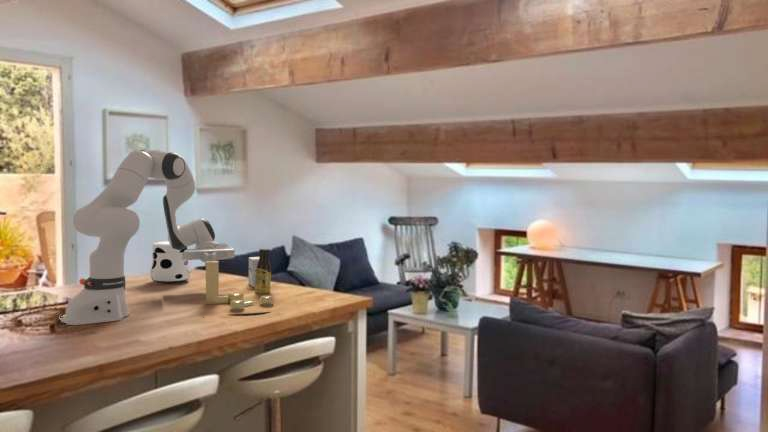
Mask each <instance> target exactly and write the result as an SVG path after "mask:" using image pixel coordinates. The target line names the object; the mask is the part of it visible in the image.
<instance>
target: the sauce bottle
mask: <svg viewBox="0 0 768 432" xmlns="http://www.w3.org/2000/svg"><path fill="white" fill-rule="evenodd" d="M258 251H259V252H258V253H259V257H260V258H259V261H258V264H257V267H256V279H255V287H254V292H255V294H258V295H259V294H260V295H261V294H262V295H265V294H270V293H271V282H272V281H271V279H272V265H271V262H270V259H269V258H270V257H269V254H270V248H265V247H262V248H259V249H258Z"/></svg>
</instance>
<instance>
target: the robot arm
mask: <svg viewBox="0 0 768 432" xmlns="http://www.w3.org/2000/svg"><path fill="white" fill-rule="evenodd" d="M149 179H154V180H164V183H165V186H166V193H165V195H164V196H163V197H162V205H163V212H164V217H165V222H166V223H165V224H166V229H167V240H168V241H169V243H170V245H171V247H172V248H174V249H177V250H182V249H185V248H187V247H188V249H186V250H184V252H183V253H182V254H183V255H184V260H188V261H196V260H197V261H198V260H200V261H201V262H203V263H206V262H212V261H222V260H229V259H234V258H235V256H236V254H235V248H233V246H231V245H229V243H225V242H224V243H223V242H216V241H215V239H216V238H215V237H216V234H215V231H214V229H213V227H212V224H211V222H210V221H208V220H207V219H206V218H203V217H200V218H197V219H193V220H191V221H188V222H186V223H183V224H181V225H178V223H177V217H176V212H177V210H178V209H179V208H180V207H181V206H183V204H185V203H187V201H189V200H190V199H191V198H192V196H194V193H195V192H196V183H195V179H194V176H193V173H192V170H191V168H190V166H189V164H188V163H187V162H186V159H185V157H183V156H181V154H179V153H176V152H171V151H170V152H169V151H165V150H164V151H163V150H157V149H148V150H147V149H139V150H132V151H130V152H129V153H128V154H127V156H126V157H125V158H124V159H123V160H122V161H121V163H120V164H119V166H118V167H117V169H116V171H115V173H114V174H113V176H112V177H111V179H110V181H109V182H108V184H107V185H106V187H105V188H104V190H102V191H101V192H100V193H99V194H98V196H96V197H95V198H94V199H93V200H92V201H90V202H89V203H88V204H87V205H84V206H82V207H80V208H78V209H77V210H76V211H75V213H74V215H73V220H72V224H73V227H74V229H75V230H76V231H77V232H78V233H80V234H82V235H84V236H85V235H86V236H87V237H95V238H99V241H98V245H97V248H96V249H95V250H93V251H92V252H91V253H90V255H89V277H87V278H86V279H85V278H82V277H81V278H80V279H79V280H78V282H79V284H80V285H83V286H84V288H83V289H82V290H81V291H80V292H79V293H77V294H76V295H75V296H73V297H72V298H71V299H69V301H68V302H67V304H66V309H65V314H62V315H63V316H61V315H60V316H61V317H63V318H60V316H59V317H58V320H59V319H60V320H61V321H62V322H64V323H66V324H65V325H68V326H69V325H70V326H80V325H81V326H82V325H88V324H99V323H105V322H106V323H107V322H108V323H109V322H115V321H121V320H123V318H125V317H129V315H130V312H129V309H128V304H127V301H126V293H125V291H126V275H124V272H125V271H124V270H125V253H126V249H127V246H128V244H129V241H130V240H131V239H132V238H133V237H134V236H135V235H136V234H137V232H138V231H139V229H140V224H141V223H140V218H139V215H138V214H137V213H136V211H134V210H132V209H129V208H128V207H130V206H132V205H134V204H135V203H136V202H137V201H138V199H139V197H140V195H142V194H141V193H142V192H143V190H144V188H145V186H146V184H147V183H148V180H149ZM168 241H167V242H168ZM193 245H195V246H194V248H189V247H190V246H193ZM62 322H61V323H62ZM64 323H63V324H64Z"/></svg>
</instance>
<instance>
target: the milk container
mask: <svg viewBox="0 0 768 432" xmlns="http://www.w3.org/2000/svg"><path fill="white" fill-rule="evenodd" d="M186 249H189V246H188V247H187V248H185V249H182V250H177V249H174V248H172V247H171V245H170V243H169V241H158V242H154V243H153V244H152V252H151V253H152V263H151V267H150V277H151V278H150V279H151V280H152V281H153V282H154V283H159V284H178V283H182V282H183V283H184V282H186V281H188V280H189V279H190V275H191V268H190V264H189V260H184V255H183V254H182V253H183V252H184V250H186Z"/></svg>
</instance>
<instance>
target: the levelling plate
mask: <svg viewBox="0 0 768 432" xmlns="http://www.w3.org/2000/svg"><path fill="white" fill-rule="evenodd" d="M229 304H230V305H229V306H230V309H229V310H230V311H231V312H241V311H244V310H245V307H248V306H249V307H250V306H254V301H251V300H250V301H245V300H244V301H242V300H234V301H231V302H230V303H229ZM259 306H261V307H270V306H274V296H272V295H261V296H260V297H259ZM270 313H271V311H267V312H265V311H263V312H249V313H248V312H247V313H246V312H245V313H233V314H228V316H232V317H233V316H235V317H246V316H247V317H248V316H249V317H251V316H253V317H254V316H260V315H261V316H262V315H266V314H270Z"/></svg>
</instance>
